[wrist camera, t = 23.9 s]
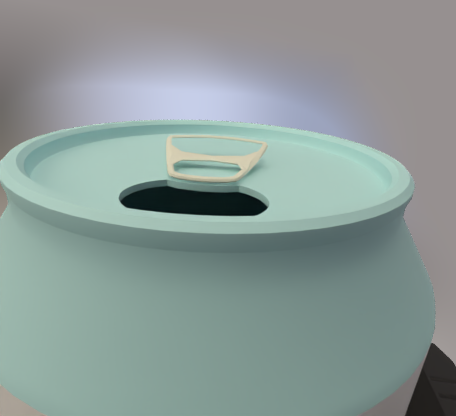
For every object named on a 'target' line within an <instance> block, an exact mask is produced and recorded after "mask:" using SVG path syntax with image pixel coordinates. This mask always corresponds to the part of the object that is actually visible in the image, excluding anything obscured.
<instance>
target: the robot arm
mask: <svg viewBox="0 0 456 416" xmlns="http://www.w3.org/2000/svg"><path fill="white" fill-rule="evenodd" d="M405 416H456V366H455V365H454V363H453V361H451V359H450V358H449V357H447V356H446V355H445V354H444V353H443V352H442V351H441V350H440V349H439V348H438V347H437V346H436V345H435V344H433V343H431V345H430V347H429V350H428V353H427V356H426V358H425V361H424V364H423V367H422V370H421V372H420V375H419V378H418V381H417V383H416V386H415V389H414V392H413V394H412V397H411V400H410V403H409V405H408V408H407V411H406V414H405Z"/></svg>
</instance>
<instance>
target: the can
mask: <svg viewBox="0 0 456 416" xmlns="http://www.w3.org/2000/svg"><path fill="white" fill-rule="evenodd" d="M0 183H1V185H2V187H3V189H4V190H5V192H6V194H7V199H8V206H7V207H6V209H5V211H4V212H3V214H2V216H1V218H0V416H405V414H406V411H407V408H408V405H409V403H410V400H411V397H412V394H413V392H414V389H415V386H416V383H417V381H418V378H419V375H420V372H421V370H422V367H423V364H424V361H425V358H426V356H427V353H428V350H429V347H430V345H431V341H432V337H433V333H434V329H435V314H436V313H435V299H434V292H433V286H432V283H431V281H430V278H429V275H428V273H427V270H426V268H425V266H424V264H423V261H422V259H421V257H420V254H419V252H418V250H417V248H416V245H415V243H414V241H413V238H412V236H411V234H410V232H409V229H408V227H407V225H406V223H405V220H404V218H403V215H404V211H405V208H406V206H407V204H408V203H409V202H410V200H411V199H412V196H413V192H414V188H415V184H414V180H413V178H412V176H411V175H410V173H409V172H408V171H407V169H406V168H405V167H404V166H403V165H402V164H401V163H400V162H398V161H397V160H395V159H394V158H392V157H391V156H389V155H387V154H385V153H383V152H380V151H378V150H376V149H373V148H371V147H368V146H365V145H362V144H359V143H356V142H353V141H350V140H346V139H342V138H338V137H334V136H330V135H325V134H321V133H316V132H310V131H305V130H298V129H293V128H286V127H279V126H271V125H263V124H253V123H242V122H228V121H208V120H144V121H126V122H114V123H104V124H95V125H87V126H81V127H75V128H70V129H65V130H60V131H55V132H52V133H48V134H44V135H41V136H38V137H35V138H32V139H30V140H27V141H25V142H23V143H21V144H19V145H17V146H16V147H14V148H13V149H12V150H11V151H10V152H9V153H8V154H7V155H6V156H5V157H4V158H3V159H2V160H1V162H0Z"/></svg>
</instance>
